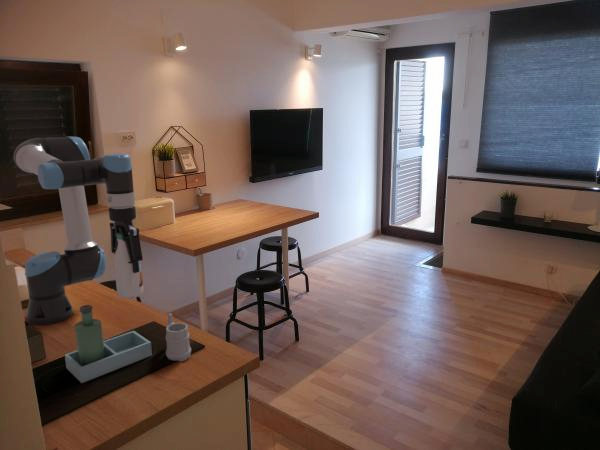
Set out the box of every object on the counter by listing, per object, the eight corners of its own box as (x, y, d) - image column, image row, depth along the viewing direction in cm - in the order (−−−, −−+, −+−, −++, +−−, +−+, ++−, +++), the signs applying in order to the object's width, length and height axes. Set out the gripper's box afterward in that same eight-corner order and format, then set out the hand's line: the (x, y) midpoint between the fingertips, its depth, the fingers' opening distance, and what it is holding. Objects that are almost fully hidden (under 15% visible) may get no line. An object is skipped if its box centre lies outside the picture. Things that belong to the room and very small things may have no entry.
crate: (66, 369, 141) (64, 354, 139) (135, 344, 155) (133, 330, 154) (81, 385, 133) (79, 368, 132) (152, 356, 148) (150, 342, 146)
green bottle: (76, 368, 140) (68, 307, 136) (99, 359, 145) (93, 300, 141) (86, 377, 136) (78, 314, 131) (110, 367, 140) (103, 307, 136)
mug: (171, 365, 143) (168, 328, 140) (158, 349, 152) (155, 314, 149) (195, 358, 147) (193, 322, 144) (181, 342, 157) (179, 308, 154)
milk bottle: (135, 300, 145) (129, 236, 140) (112, 298, 146) (105, 235, 141) (148, 290, 152) (142, 229, 147) (125, 289, 153) (119, 228, 148)
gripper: (94, 203, 146) (102, 274, 152) (126, 213, 133) (134, 290, 138) (117, 200, 152) (124, 268, 157) (151, 209, 138) (157, 283, 144)
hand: (129, 278), depth 148 cm, fingers closed on milk bottle, 7 cm apart
